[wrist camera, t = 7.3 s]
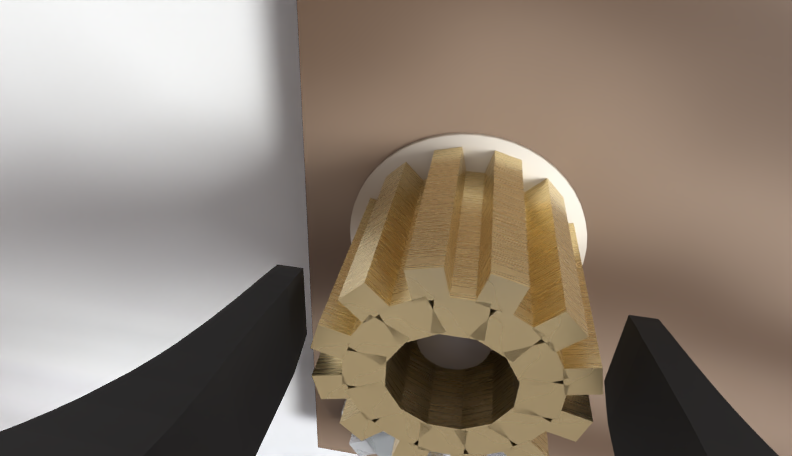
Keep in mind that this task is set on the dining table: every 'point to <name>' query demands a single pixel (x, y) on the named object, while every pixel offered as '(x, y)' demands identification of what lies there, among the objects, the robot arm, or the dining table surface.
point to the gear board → (580, 163)
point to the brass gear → (462, 315)
